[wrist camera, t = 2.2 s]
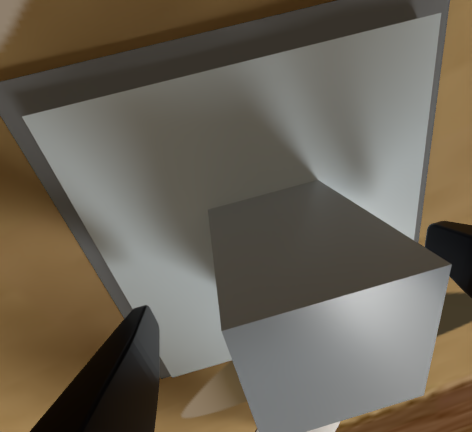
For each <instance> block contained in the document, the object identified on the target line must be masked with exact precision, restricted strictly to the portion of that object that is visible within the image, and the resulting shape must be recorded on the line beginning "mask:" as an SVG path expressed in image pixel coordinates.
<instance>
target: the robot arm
mask: <svg viewBox="0 0 472 432" xmlns="http://www.w3.org/2000/svg"><path fill="white" fill-rule="evenodd" d="M425 248H427V249H428V250H430V251H431V252H433V253H435V254H436V255H438V256H439V257H441V258H442V259H444V260H446V261H447V262H449V263H450V264H452V266H451V270H450V275H449V276H450V277H451V278H452V279H453V280H454V281H455V282H456V283H457V285H458V286H459V287H460V288H461V289H462V290H463V291H464V292H465V293H466V294H468V295H469V296H470V297H471V298H472V225H467V224H461V223H454V222H448V221H440V222H437V223H433V224H431V225H429V227H428V229H427V235H426V242H425ZM159 353H160V330H159V324H158V322H157V320H156V318H155V316H154V314H153V312H152V311H151V309H150V307H149V306H148V305H143V306H140V307H136V308H134V309H133V310H132V311H131V312H130V313H129V314H128V315H127V317H126V318H125V319H124V320H123V321H122V322H121V324H120V325H119V326H118V327H117V328H116V330H115V331H114V332H113V333H112V334H111V336H110V337H109V338H108V339H107V340H106V342H105V343H104V344H103V345H102V346H101V347H100V349H99V350H98V351H97V352H96V353H95V355H94V356H93V357H92V358H91V359H90V361H89V362H88V363H87V364H86V365H85V366H84V368H83V369H82V370H81V371H80V372H79V374H78V375H77V376H76V377H75V378H74V380H73V381H72V382H71V383H70V384H69V386H68V387H67V388H66V389H65V390H64V391H63V393H62V394H61V395H60V396H59V397H58V399H57V400H56V401H55V402H54V403H53V405H52V406H51V407H50V408H49V409H48V411H47V412H46V413H45V414H44V415H43V416H42V418H41V419H40V420H39V421H38V422H37V424H36V425H35V426H34V427H33V428H32V430H31V431H30V432H154V429H155V420H156V411H157V401H158V392H159Z"/></svg>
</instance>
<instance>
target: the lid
mask: <svg viewBox="0 0 472 432" xmlns="http://www.w3.org/2000/svg"><path fill="white" fill-rule="evenodd" d="M440 20H441V13H438V14H434V15H430V16H426V17H422V18H418V19H414V20H410V21H406V22H402V23H398V24H394V25H390V26H385V27H381V28H377V29H373V30H369V31H365V32H361V33H357V34H353V35H349V36H345V37H341V38H337V39H333V40H329V41H325V42H321V43H317V44H313V45H309V46H305V47H301V48H297V49H293V50H289V51H285V52H281V53H277V54H273V55H268V56H264V57H260V58H256V59H252V60H248V61H244V62H240V63H236V64H232V65H228V66H224V67H220V68H216V69H212V70H208V71H204V72H200V73H196V74H192V75H188V76H184V77H180V78H176V79H172V80H168V81H164V82H160V83H156V84H151V85H147V86H143V87H139V88H135V89H131V90H127V91H123V92H119V93H115V94H111V95H107V96H103V97H99V98H95V99H91V100H87V101H83V102H79V103H75V104H71V105H67V106H63V107H59V108H55V109H51V110H47V111H43V112H38V113H34V114H30V115H26V116H22V118H23V120H24V121H25V123H26V125H27V126H28V128H29V130H30V132H31V133H32V135H33V137H34V139H35V140H36V142H37V144H38V146H39V147H40V149H41V151H42V153H43V154H44V156H45V158H46V159H47V161H48V163H49V165H50V166H51V168H52V170H53V172H54V173H55V175H56V177H57V179H58V180H59V182H60V184H61V186H62V187H63V189H64V191H65V192H66V194H67V196H68V198H69V199H70V201H71V203H72V205H73V206H74V208H75V210H76V212H77V213H78V215H79V217H80V219H81V220H82V222H83V224H84V225H85V227H86V229H87V231H88V232H89V234H90V236H91V238H92V239H93V241H94V243H95V245H96V246H97V248H98V250H99V252H100V253H101V255H102V257H103V258H104V260H105V262H106V264H107V265H108V267H109V269H110V271H111V272H112V274H113V276H114V278H115V279H116V281H117V283H118V285H119V286H120V288H121V290H122V291H123V293H124V295H125V297H126V298H127V300H128V302H129V304H130V305H131V307H132V309H134V308H136V307H140V306H143V305H148V306H149V307H150V309H151V311H152V312H153V314H154V316H155V318H156V320H157V322H158V324H159V330H160V353H159V356H160V357H161V359H162V361H163V363H164V364H165V366H166V368H167V370H168V371H169V373H170V375H171V377H172V378H173V377H177V376H180V375H183V374H187V373H190V372H193V371H197V370H200V369H204V368H207V367H210V366H214V365H217V364H221V363H224V362H227V361H231V360H232V361H233V364H234V366H235V369H236V372H237V374H238V377H239V380H240V383H241V385H242V388H243V390H244V393H245V396H246V399H247V401H248V404H249V407H250V410H251V412H252V415H253V418H254V420H255V423H256V426H257V428H258V431H259V432H307V431H310V430H313V429H317V428H320V427H323V426H326V425H329V424H333V423H336V422H339V421H342V420H346V419H349V418H352V417H355V416H358V415H362V414H365V413H368V412H371V411H375V410H378V409H381V408H384V407H388V406H391V405H394V404H397V403H400V402H404V401H407V400H410V399H413V398H417V397H420V396H423V395H424V392H425V387H426V383H427V378H428V373H429V369H430V364H431V359H432V355H433V350H434V345H435V341H436V336H437V331H438V326H439V322H440V317H441V312H442V308H443V303H444V298H445V294H446V289H447V284H448V280H449V275H450V270H451V266H452V264H450V263H449V262H447V261H446V260H444V259H442V258H441V257H439V256H438V255H436V254H435V253H433V252H431V251H430V250H428V249H427V248H425V247H423V246H422V245H420V244H419V243H417V242H416V241H414V236H415V228H416V219H417V211H418V203H419V195H420V186H421V178H422V170H423V161H424V153H425V145H426V136H427V128H428V120H429V112H430V103H431V95H432V87H433V78H434V70H435V62H436V53H437V45H438V37H439V28H440Z"/></svg>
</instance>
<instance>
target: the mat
mask: <svg viewBox="0 0 472 432" xmlns="http://www.w3.org/2000/svg"><path fill="white" fill-rule="evenodd" d="M449 3H450V0H337V1H332V2H328V3H324V4H320V5H316V6H312V7H308V8H303V9H299V10H295V11H291V12H287V13H283V14H279V15H275V16H270V17H266V18H262V19H258V20H254V21H250V22H246V23H241V24H237V25H233V26H229V27H225V28H221V29H217V30H212V31H208V32H204V33H200V34H196V35H192V36H188V37H183V38H179V39H175V40H171V41H167V42H163V43H159V44H155V45H150V46H146V47H142V48H138V49H134V50H130V51H126V52H121V53H117V54H113V55H109V56H105V57H101V58H97V59H92V60H88V61H84V62H80V63H76V64H72V65H68V66H63V67H59V68H55V69H51V70H47V71H43V72H39V73H35V74H30V75H26V76H22V77H18V78H14V79H10V80H6V81H1V82H0V116H1V118H2V119H3V121H4V122H5V124H6V126H7V127H8V129H9V131H10V132H11V134H12V136H13V137H14V139H15V140H16V142H17V144H18V145H19V147H20V149H21V150H22V152H23V153H24V155H25V157H26V158H27V160H28V162H29V163H30V165H31V167H32V168H33V170H34V171H35V173H36V175H37V176H38V178H39V180H40V181H41V183H42V185H43V186H44V188H45V189H46V191H47V193H48V194H49V196H50V198H51V199H52V201H53V203H54V204H55V206H56V207H57V209H58V211H59V212H60V214H61V216H62V217H63V219H64V221H65V222H66V224H67V225H68V227H69V229H70V230H71V232H72V234H73V235H74V237H75V239H76V240H77V242H78V243H79V245H80V247H81V248H82V250H83V252H84V253H85V255H86V257H87V258H88V260H89V261H90V263H91V265H92V266H93V268H94V270H95V271H96V273H97V275H98V276H99V278H100V279H101V281H102V283H103V284H104V286H105V288H106V289H107V291H108V293H109V294H110V296H111V297H112V299H113V301H114V302H115V304H116V306H117V307H118V309H119V310H120V312H121V314H122V315H123V317H124V319H125V318H126V317H127V315H128V314H129V313H130V312H131V311H132V310H133V309H132V307H131V305H130V304H129V302H128V300H127V298H126V297H125V295H124V293H123V291H122V290H121V288H120V286H119V285H118V283H117V281H116V279H115V278H114V276H113V274H112V272H111V271H110V269H109V267H108V265H107V264H106V262H105V260H104V258H103V257H102V255H101V253H100V252H99V250H98V248H97V246H96V245H95V243H94V241H93V239H92V238H91V236H90V234H89V232H88V231H87V229H86V227H85V225H84V224H83V222H82V220H81V219H80V217H79V215H78V213H77V212H76V210H75V208H74V206H73V205H72V203H71V201H70V199H69V198H68V196H67V194H66V192H65V191H64V189H63V187H62V186H61V184H60V182H59V180H58V179H57V177H56V175H55V173H54V172H53V170H52V168H51V166H50V165H49V163H48V161H47V159H46V158H45V156H44V154H43V153H42V151H41V149H40V147H39V146H38V144H37V142H36V140H35V139H34V137H33V135H32V133H31V132H30V130H29V128H28V126H27V125H26V123H25V121H24V120H23V118H22V116H26V115H30V114H34V113H38V112H43V111H47V110H51V109H55V108H59V107H63V106H67V105H71V104H75V103H79V102H83V101H87V100H91V99H95V98H99V97H103V96H107V95H111V94H115V93H119V92H123V91H127V90H131V89H135V88H139V87H143V86H147V85H151V84H156V83H160V82H164V81H168V80H172V79H176V78H180V77H184V76H188V75H192V74H196V73H200V72H204V71H208V70H212V69H216V68H220V67H224V66H228V65H232V64H236V63H240V62H244V61H248V60H252V59H256V58H260V57H264V56H268V55H273V54H277V53H281V52H285V51H289V50H293V49H297V48H301V47H305V46H309V45H313V44H317V43H321V42H325V41H329V40H333V39H337V38H341V37H345V36H349V35H353V34H357V33H361V32H365V31H369V30H373V29H377V28H381V27H385V26H390V25H394V24H398V23H402V22H406V21H410V20H414V19H418V18H422V17H426V16H430V15H434V14H438V13H441V20H440V28H439V37H438V45H437V53H436V62H435V70H434V78H433V87H432V95H431V103H430V112H429V120H428V128H427V136H426V145H425V153H424V161H423V170H422V178H421V186H420V195H419V203H418V211H417V219H416V228H415V236H414V241H416V242H417V243H418V241H419V233H420V226H421V218H422V210H423V203H424V195H425V187H426V180H427V172H428V164H429V157H430V149H431V141H432V134H433V126H434V118H435V111H436V103H437V95H438V88H439V80H440V72H441V65H442V57H443V49H444V42H445V34H446V26H447V19H448V11H449ZM159 376H160V378H161V379H163V378H166V377H170V376H171V375H170V373H169V371H168V370H167V368H166V366H165V364H164V363H163V361H162V359H161V357H160V356H159Z"/></svg>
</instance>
